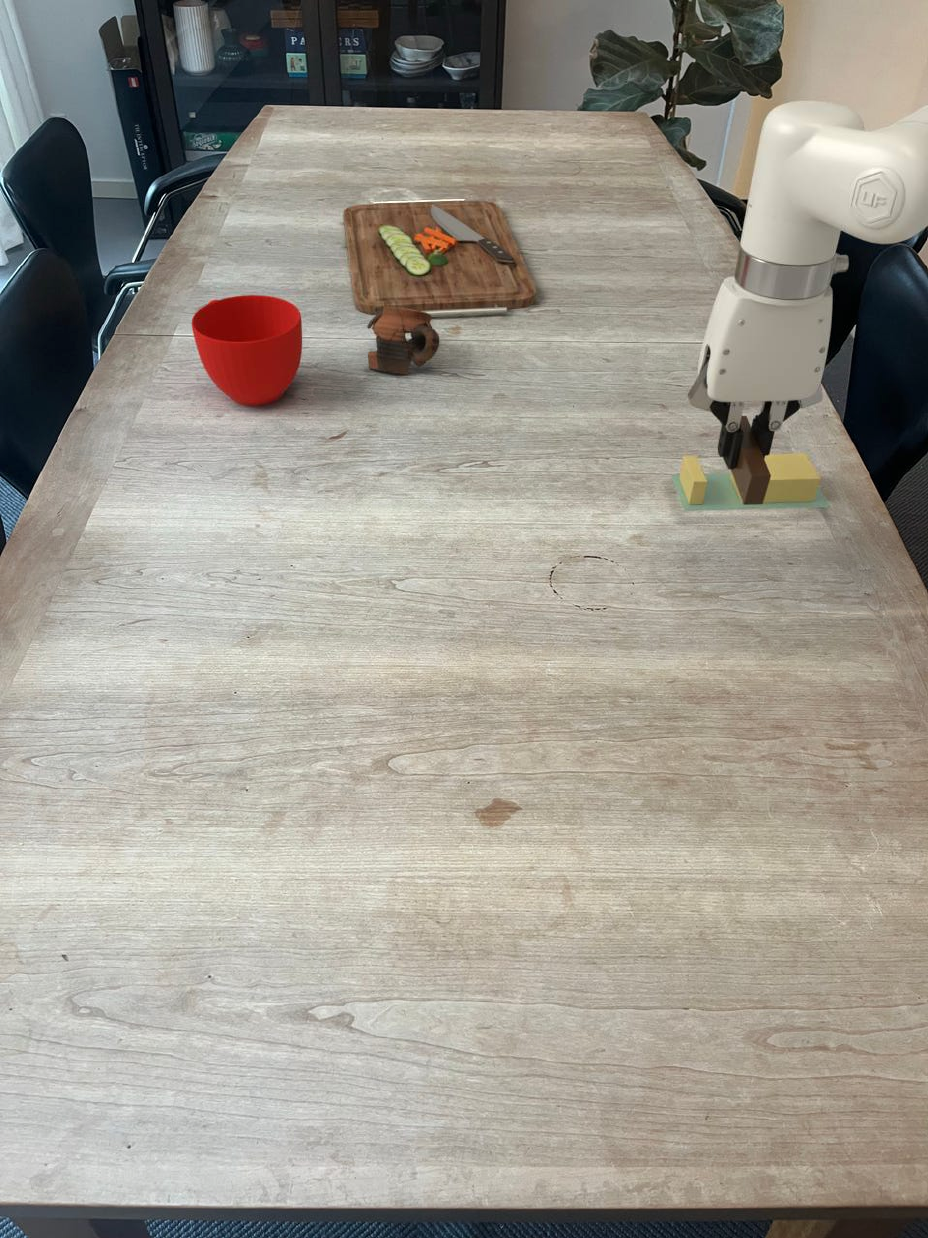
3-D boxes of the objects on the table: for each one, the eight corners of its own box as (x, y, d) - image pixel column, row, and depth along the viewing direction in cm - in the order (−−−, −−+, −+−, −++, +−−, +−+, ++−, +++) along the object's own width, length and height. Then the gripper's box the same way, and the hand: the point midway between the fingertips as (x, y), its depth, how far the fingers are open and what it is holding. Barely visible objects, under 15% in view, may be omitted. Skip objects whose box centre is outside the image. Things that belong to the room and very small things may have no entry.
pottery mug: (348, 367, 132) (355, 302, 131) (398, 375, 139) (405, 314, 138) (412, 374, 125) (420, 306, 123) (462, 382, 132) (470, 318, 130)
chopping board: (342, 207, 174) (340, 189, 172) (493, 202, 177) (494, 184, 175) (356, 322, 141) (355, 301, 139) (543, 313, 144) (544, 293, 142)
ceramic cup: (263, 347, 135) (254, 275, 129) (327, 398, 125) (321, 323, 118) (174, 373, 129) (159, 300, 123) (233, 430, 119) (221, 353, 113)
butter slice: (692, 478, 111) (696, 455, 109) (702, 504, 108) (707, 481, 106) (678, 478, 111) (683, 455, 109) (688, 504, 108) (693, 481, 106)
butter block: (799, 475, 112) (806, 452, 110) (814, 501, 108) (821, 478, 106) (729, 477, 112) (734, 454, 110) (741, 503, 108) (747, 480, 106)
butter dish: (807, 477, 113) (809, 470, 113) (828, 514, 108) (830, 506, 108) (668, 481, 113) (670, 473, 112) (682, 518, 107) (684, 510, 107)
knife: (716, 384, 104) (722, 356, 102) (762, 504, 92) (771, 475, 89) (699, 385, 104) (705, 357, 102) (743, 505, 92) (751, 476, 89)
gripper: (860, 251, 86) (810, 438, 98) (677, 254, 85) (650, 442, 97) (893, 287, 80) (836, 481, 92) (698, 291, 79) (666, 486, 91)
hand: (741, 460), depth 94 cm, fingers closed on knife, 1 cm apart
